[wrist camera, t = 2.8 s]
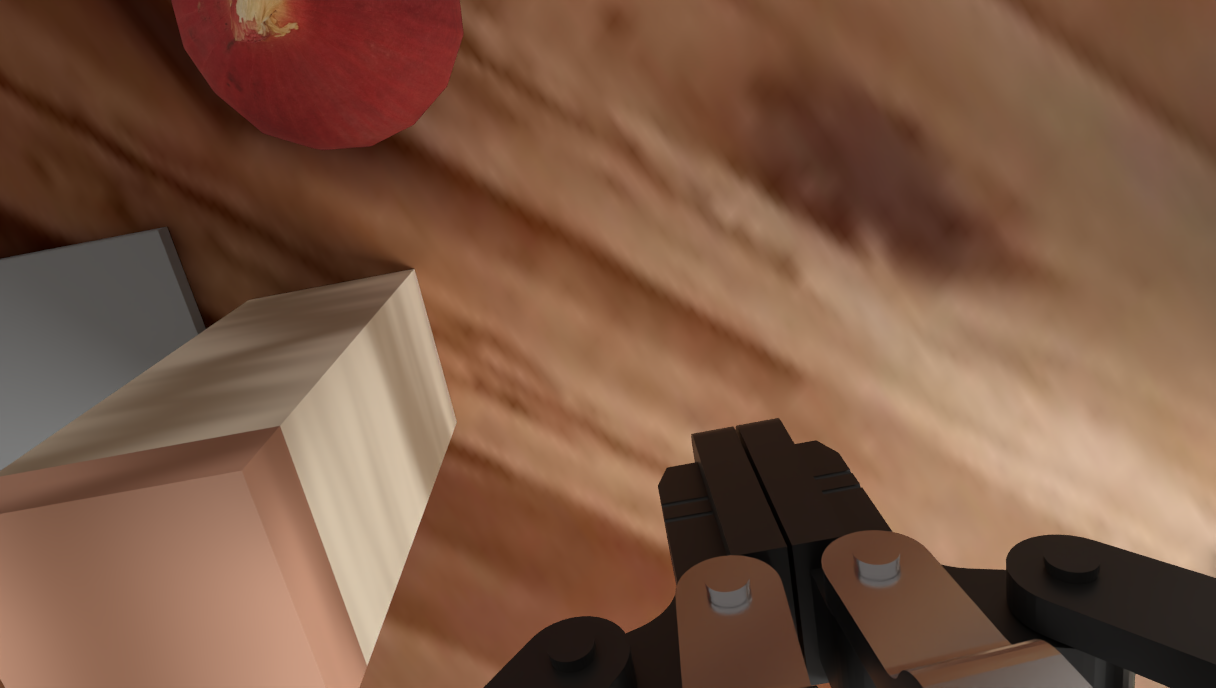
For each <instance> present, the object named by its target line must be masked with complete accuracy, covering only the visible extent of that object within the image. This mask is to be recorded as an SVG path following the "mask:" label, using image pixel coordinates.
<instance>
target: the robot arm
mask: <svg viewBox="0 0 1216 688" xmlns="http://www.w3.org/2000/svg"><path fill="white" fill-rule="evenodd" d="M691 438H692V446H693V453H694V459H695V463H690V464H685V465H679V466H674V467H668V468H667V469H666V471H665V473H664V475H663V477H662V479H661V481H660V483H659V485H658V489H659V495H660V500H661V506H662V511H663V517H664V522H665V528H666V533H667V539H668V544H669V550H670V555H671V560H672V566H673V571H674V576H675V581H676V592H675V596H674V599H673V600H672V602H671V604H670V605H669V606H668V608H667V609H666V610H665V611H664V612H663V613H662V614H661V615H659V616H658V617H657V618H655V619H654V620H652V621H651V622H649V623H647V624H646V625H644V626H642V627H640V628H637V629H635V630H633V631H630V632H628V633H626V634H625V632H624V631H623V630H622V629H621V628H620V627H619V626H618V625H616V624H615V623H613V622H611V621H609V620H607V619H603V618H599V617H591V616H582V617H574V618H569V619H565V620H562V621H559V622H557V623H554V624H552V625H550V626H548V627H546V628H545V629H543V630H542V631H540V632H539V633H538V634H536V635H535V636H534V637H533V638H532V639H531V640H530V641H529V642H528V643H527V644H526V645H525V646H524V647H523V648H522V649H521V650H520V651H519V652H518V653H517V654H516V655H515V656H514V657H513V658H512V659H511V660H510V661H509V662H508V663H507V664H506V665H505V666H504V667H503V668H502V669H501V670H500V671H499V672H498V673H497V674H496V675H495V677H494V678H493V679H492V680H491V681H490V682H489V683H488V684H487V685H486V686H485V687H484V688H818V687H817V686H812V685H817V684H823V683H830V686H831V688H1134V686H1135V673H1136V674H1138V675H1141V676H1143V677H1145V678H1148V679H1150V680H1153V681H1155V682H1158V683H1160V684H1163V685H1165V686H1167V687H1170V688H1216V578H1214V577H1210V576H1207V575H1204V574H1201V573H1197V572H1194V571H1191V570H1188V569H1185V568H1181V567H1178V566H1175V565H1172V564H1168V563H1165V562H1162V561H1159V560H1155V559H1152V558H1149V557H1146V556H1143V555H1139V554H1136V553H1133V552H1130V551H1126V550H1123V549H1120V548H1117V547H1113V546H1110V545H1107V544H1104V543H1101V542H1097V541H1094V540H1090V539H1087V538H1082V537H1077V536H1070V535H1043V536H1037V537H1032V538H1029V539H1026V540H1024V541H1022V542H1020V543H1018V544H1016V545H1015V546H1014V547H1013V548H1012V549H1011V550H1010V552H1009V553H1008V555H1007V559H1006V570H993V569H967V568H956V567H950V566H945V565H941V564H940V563H939V562H938V561H937V560H936V559H935V557H934V556H933V555H932V554H931V553H930V552H929V551H928V550H927V549H926V548H925V547H924V546H923V545H922V544H920V543H919V542H917V541H916V540H914V539H912V538H910V537H908V536H905V535H902V534H899V533H894V532H892V530H891V529H890V527H889V526H888V524H887V523H886V522H885V520H884V519H883V517H882V516H881V514H880V513H879V511H878V510H877V508H876V507H875V505H874V504H873V503H872V501H871V500H870V498H869V497H868V495H867V494H866V492H865V491H864V489H863V488H861V487H860V484H859V482H858V481H857V479H856V478H855V476H854V475H853V473H851V472H850V469H849V467H848V466H847V465H846V463H845V462H844V460H843V459H842V457H841V456H840V454H839V453H838V452H836V451H834V450H832V449H831V448H829V447H827V446H825V445H823V444H822V443H820V442H818V441H810V442H805V443H799V444H794V442H793V441H792V439H791V437H790V436H789V434H788V432H787V430H786V429H785V427H784V425H783V424H782V422H781V420H780V419H779V418H776V419H770V420H765V421H759V422H754V423H749V424H743V425H738V426H736V430H735V428H734V427H727V428H722V429H716V430H711V431H706V432H700V433H695V434H691Z"/></svg>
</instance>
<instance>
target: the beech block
mask: <svg viewBox="0 0 1216 688" xmlns="http://www.w3.org/2000/svg"><path fill="white" fill-rule="evenodd" d="M456 423H457V421H456V417H455V414H454V410H453V407H452V403H451V399H450V396H449V392H448V389H447V385H446V381H445V378H444V374H443V370H442V367H441V363H440V360H439V356H438V352H437V349H436V345H435V342H434V338H433V334H432V331H431V327H430V324H429V320H428V316H427V313H426V309H425V305H424V302H423V298H422V295H421V291H420V287H419V284H418V280H417V277H416V273H415V269H411V270H406V271H400V272H395V273H390V274H384V275H379V276H374V277H368V278H363V279H358V280H353V281H347V282H342V283H337V284H331V285H326V286H321V287H315V288H310V289H305V290H299V291H294V292H289V293H283V294H278V295H273V296H267V297H262V298H257V299H251V300H248V301H246V302H245V303H243V304H242V305H241V306H239V307H238V308H236V309H235V310H233V311H232V312H230V313H229V314H227V315H226V316H225V317H223V318H222V319H220V320H219V321H217V322H216V323H214V324H213V325H211V326H210V327H209V328H207V329H206V330H204V331H203V332H201V333H200V334H198V335H197V336H195V337H194V338H193V339H191V340H190V341H188V342H187V343H185V344H184V345H182V346H181V347H179V348H178V349H177V350H175V351H174V352H172V353H171V354H169V355H168V356H166V357H165V358H164V359H162V360H161V361H159V362H158V363H156V364H155V365H153V366H152V367H150V368H149V369H148V370H146V371H145V372H143V373H142V374H140V375H139V376H137V377H136V378H134V379H133V380H132V381H130V382H129V383H127V384H126V385H124V386H123V387H121V388H120V389H118V390H117V391H116V392H114V393H113V394H111V395H110V396H108V397H107V398H105V399H104V400H102V401H101V402H100V403H98V404H97V405H95V406H94V407H92V408H91V409H89V410H88V411H86V412H85V413H84V414H82V415H81V416H79V417H78V418H76V419H75V420H73V421H72V422H70V423H69V424H68V425H66V426H65V427H63V428H62V429H60V430H59V431H57V432H56V433H54V434H53V435H52V436H50V437H49V438H47V439H46V440H44V441H43V442H41V443H40V444H39V445H37V446H36V447H34V448H33V449H31V450H30V451H28V452H27V453H25V454H24V455H23V456H21V457H20V458H18V459H17V460H15V461H14V462H12V463H11V464H9V465H8V466H7V467H5V468H4V469H2V470H1V471H0V679H1V681H2V683H3V684H4V686H5V688H359V687H360V684H361V681H362V679H363V676H364V673H365V671H366V668H367V665H368V662H369V660H370V657H371V654H372V652H373V649H374V646H375V643H376V641H377V638H378V635H379V632H380V630H381V627H382V624H383V622H384V619H385V616H386V613H387V611H388V608H389V605H390V602H391V600H392V597H393V594H394V592H395V589H396V586H397V583H398V581H399V578H400V575H401V573H402V570H403V567H404V564H405V562H406V559H407V556H408V553H409V551H410V548H411V545H412V543H413V540H414V537H415V534H416V532H417V529H418V526H419V524H420V521H421V518H422V515H423V513H424V510H425V507H426V504H427V502H428V499H429V496H430V494H431V491H432V488H433V485H434V483H435V480H436V477H437V474H438V472H439V469H440V466H441V464H442V461H443V458H444V455H445V453H446V450H447V447H448V445H449V442H450V439H451V436H452V434H453V431H454V428H455V425H456Z"/></svg>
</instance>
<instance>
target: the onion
mask: <svg viewBox="0 0 1216 688" xmlns="http://www.w3.org/2000/svg"><path fill="white" fill-rule="evenodd" d="M171 1H172V5H173V9H174V13H175V16H176V20H177V24H178V28H179V31H180V35H181V39H182V43H183V46H184V49H185V50H186V52H187V53H188V55H189V56H190V58H191V59H192V61H193V62H194V63H195V65H196V66H197V68H198V69H199V71H200V72H201V74H202V75H203V77H204V78H205V80H206V81H207V82H208V84H209V85H210V87H211V88H212V90H213V91H214V93H215V94H217V95H218V96H219V97H220V98H221V99H223V100H224V101H225V102H226V103H227V104H229V105H230V106H231V107H232V108H233V109H235V110H236V111H237V112H238V113H239V114H241V115H242V116H243V117H244V118H245V119H247V120H248V121H249V122H250V123H251V124H253V125H254V126H255V127H256V128H257V129H258V130H260V131H261V132H262V133H263V134H267V135H270V136H273V137H277V138H280V139H284V140H287V141H290V142H294V143H297V144H300V145H304V146H307V147H310V148H315V149H320V150H331V149H343V148H355V147H368V146H372V145H374V144H376V143H378V142H380V141H382V140H384V139H386V138H388V137H390V136H392V135H394V134H396V133H398V132H400V131H402V130H404V129H406V128H408V127H410V126H412V125H414V124H415V123H416V122H417V120H418V119H419V118H420V117H421V116H422V115H423V113H424V112H425V111H426V110H427V109H428V108H429V106H430V105H431V104H432V103H433V102H434V101H435V100H436V98H437V97H438V96H439V95H440V94H441V93H442V91H443V90H444V89H445V88H446V87H447V85H448V81H449V78H450V75H451V72H452V69H453V66H454V63H455V60H456V56H457V53H458V50H459V47H460V44H461V41H462V38H463V25H462V16H461V7H460V0H171Z"/></svg>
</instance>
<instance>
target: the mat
mask: <svg viewBox="0 0 1216 688" xmlns="http://www.w3.org/2000/svg"><path fill="white" fill-rule="evenodd" d="M204 330H206V328H205V325H204V323H203V320H202V317H201V315H200V312H199V310H198V307H197V304H196V302H195V299H194V296H193V294H192V291H191V289H190V286H189V283H188V281H187V278H186V275H185V273H184V270H183V268H182V265H181V262H180V260H179V257H178V254H177V252H176V249H175V247H174V244H173V241H172V239H171V236H170V233H169V231H168V228H167V227H163V228H158V229H152V230H147V231H142V232H137V233H132V234H126V235H121V236H116V237H111V238H106V239H100V240H95V241H90V242H85V243H80V244H75V245H69V246H64V247H59V248H54V249H49V250H43V251H38V252H33V253H28V254H23V255H17V256H12V257H7V258H2V259H0V471H1V470H2V469H4V468H5V467H7V466H8V465H9V464H11V463H12V462H14V461H15V460H17V459H18V458H20V457H21V456H23V455H24V454H25V453H27V452H28V451H30V450H31V449H33V448H34V447H36V446H37V445H39V444H40V443H41V442H43V441H44V440H46V439H47V438H49V437H50V436H52V435H53V434H54V433H56V432H57V431H59V430H60V429H62V428H63V427H65V426H66V425H68V424H69V423H70V422H72V421H73V420H75V419H76V418H78V417H79V416H81V415H82V414H84V413H85V412H86V411H88V410H89V409H91V408H92V407H94V406H95V405H97V404H98V403H100V402H101V401H102V400H104V399H105V398H107V397H108V396H110V395H111V394H113V393H114V392H116V391H117V390H118V389H120V388H121V387H123V386H124V385H126V384H127V383H129V382H130V381H132V380H133V379H134V378H136V377H137V376H139V375H140V374H142V373H143V372H145V371H146V370H148V369H149V368H150V367H152V366H153V365H155V364H156V363H158V362H159V361H161V360H162V359H164V358H165V357H166V356H168V355H169V354H171V353H172V352H174V351H175V350H177V349H178V348H179V347H181V346H182V345H184V344H185V343H187V342H188V341H190V340H191V339H193V338H194V337H195V336H197V335H198V334H200V333H201V332H203V331H204Z"/></svg>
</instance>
